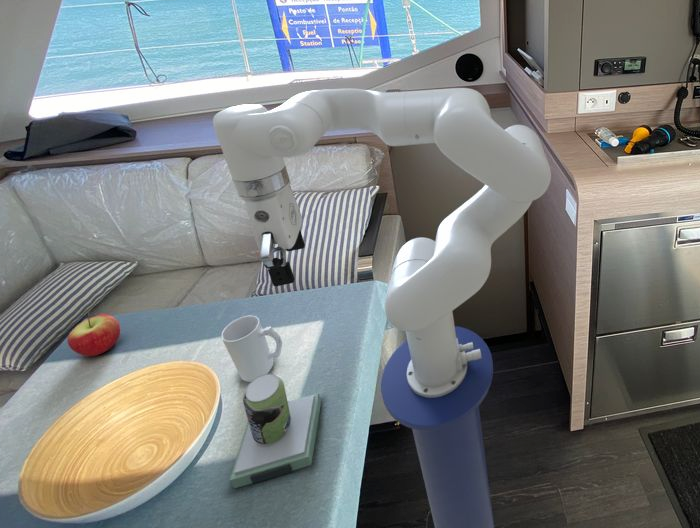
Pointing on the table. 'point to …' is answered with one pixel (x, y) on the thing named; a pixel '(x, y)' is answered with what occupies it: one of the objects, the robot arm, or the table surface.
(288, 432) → the scale
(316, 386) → the table surface
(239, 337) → the mug
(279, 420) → the beverage can
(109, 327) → the apple
